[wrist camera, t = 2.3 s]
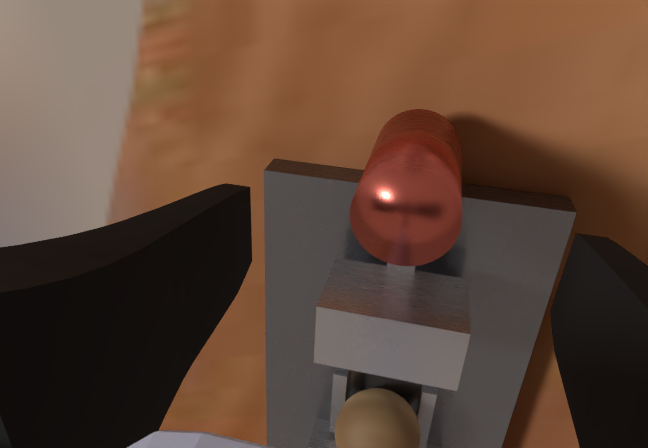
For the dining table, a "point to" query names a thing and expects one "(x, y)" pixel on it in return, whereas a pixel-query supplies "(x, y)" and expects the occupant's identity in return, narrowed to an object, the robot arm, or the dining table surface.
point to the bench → (460, 261)
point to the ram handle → (401, 262)
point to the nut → (377, 421)
